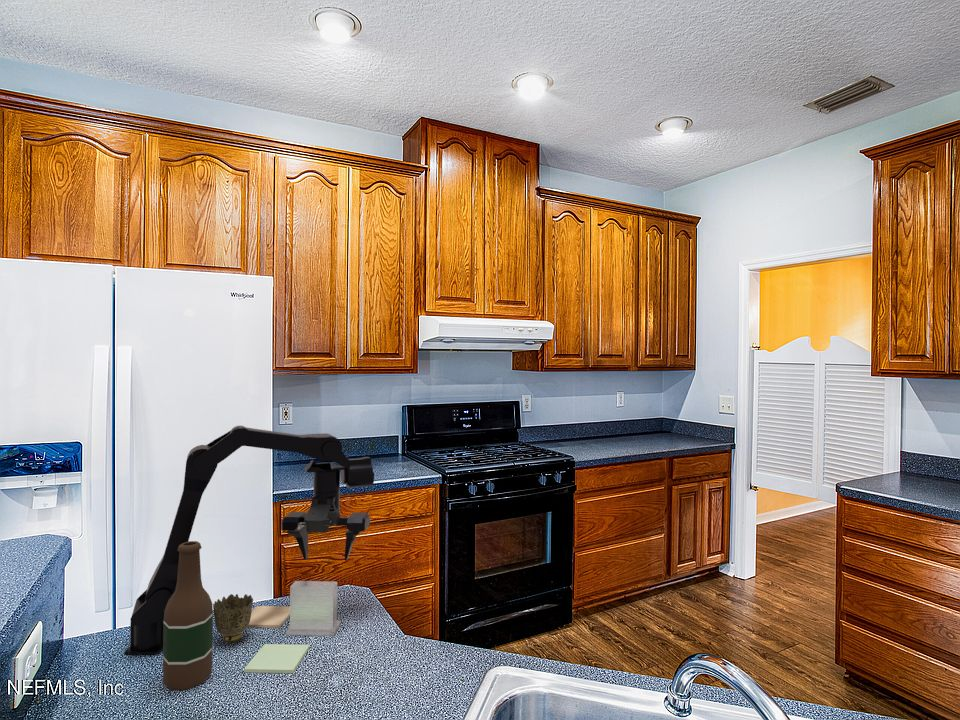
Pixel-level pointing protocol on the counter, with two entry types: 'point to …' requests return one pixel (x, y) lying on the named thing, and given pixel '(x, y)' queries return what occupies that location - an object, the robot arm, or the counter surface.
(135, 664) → the counter surface
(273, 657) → the sage mat
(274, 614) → the oak mat
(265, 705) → the counter surface
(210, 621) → the beer bottle
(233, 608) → the brown ornate lampshade
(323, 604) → the box
